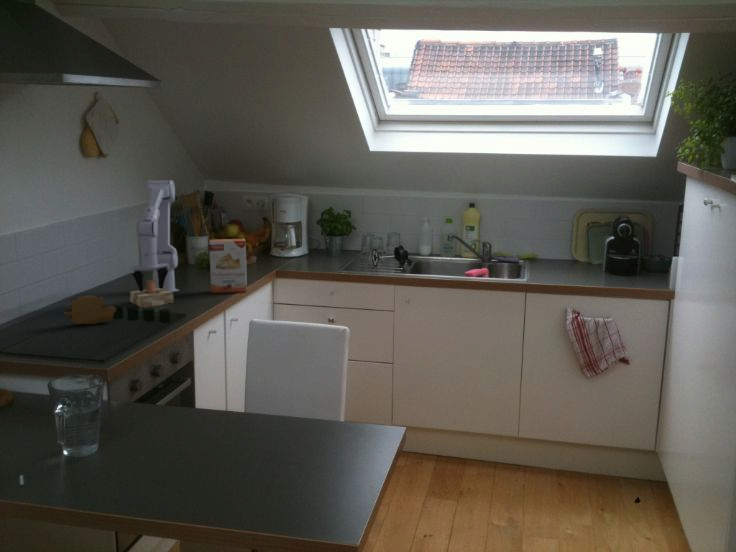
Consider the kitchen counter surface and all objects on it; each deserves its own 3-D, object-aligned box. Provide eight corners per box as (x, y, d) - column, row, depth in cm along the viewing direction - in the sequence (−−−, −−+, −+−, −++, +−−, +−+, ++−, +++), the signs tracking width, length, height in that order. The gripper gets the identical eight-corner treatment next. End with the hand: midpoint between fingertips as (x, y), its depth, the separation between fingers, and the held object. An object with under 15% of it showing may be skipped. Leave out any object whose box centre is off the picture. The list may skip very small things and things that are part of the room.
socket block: (130, 301, 280) (129, 291, 279) (161, 297, 287) (160, 287, 286) (142, 307, 270) (141, 297, 269) (173, 303, 277) (173, 292, 277)
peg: (145, 301, 279) (144, 280, 277) (154, 300, 281) (153, 279, 279) (149, 303, 276) (147, 282, 275) (158, 302, 278) (156, 281, 276)
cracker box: (211, 294, 293) (208, 241, 289) (211, 290, 298) (209, 239, 294) (247, 292, 295) (245, 240, 291) (247, 289, 301) (245, 238, 296)
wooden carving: (116, 320, 253) (114, 291, 251) (117, 323, 249) (115, 293, 247) (64, 325, 247) (61, 295, 245) (64, 328, 242) (62, 298, 241)
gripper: (133, 257, 267) (135, 294, 270) (171, 252, 276) (173, 288, 279) (126, 254, 273) (129, 290, 276) (164, 250, 282) (166, 285, 284)
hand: (151, 289), depth 278 cm, fingers open, 7 cm apart
